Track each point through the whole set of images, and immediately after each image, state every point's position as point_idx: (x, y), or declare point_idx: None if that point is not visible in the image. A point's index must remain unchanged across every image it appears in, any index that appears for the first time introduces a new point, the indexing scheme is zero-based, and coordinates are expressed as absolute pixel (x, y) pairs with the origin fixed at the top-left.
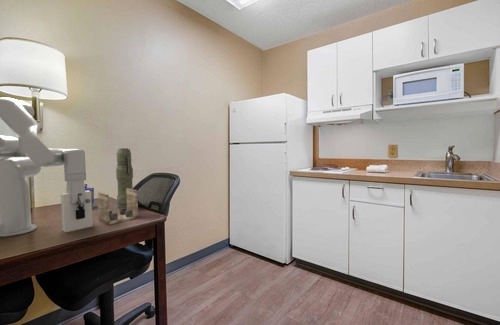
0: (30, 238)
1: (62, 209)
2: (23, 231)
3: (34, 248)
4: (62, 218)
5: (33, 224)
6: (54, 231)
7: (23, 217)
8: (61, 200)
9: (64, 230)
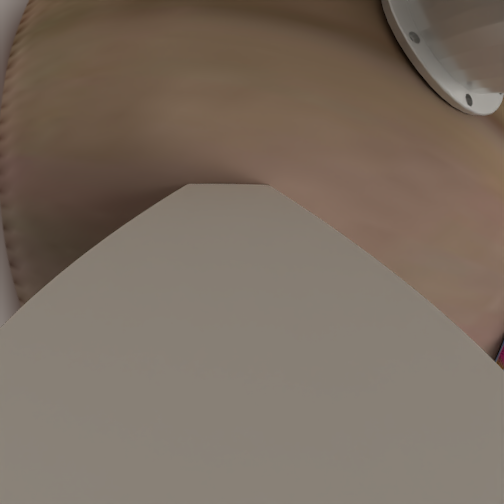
0: (243, 4)
1: (260, 235)
2: (392, 15)
3: (37, 36)
4: (272, 199)
5: (484, 111)
6: (289, 135)
7: (473, 5)
8: (488, 415)
9: (207, 184)
